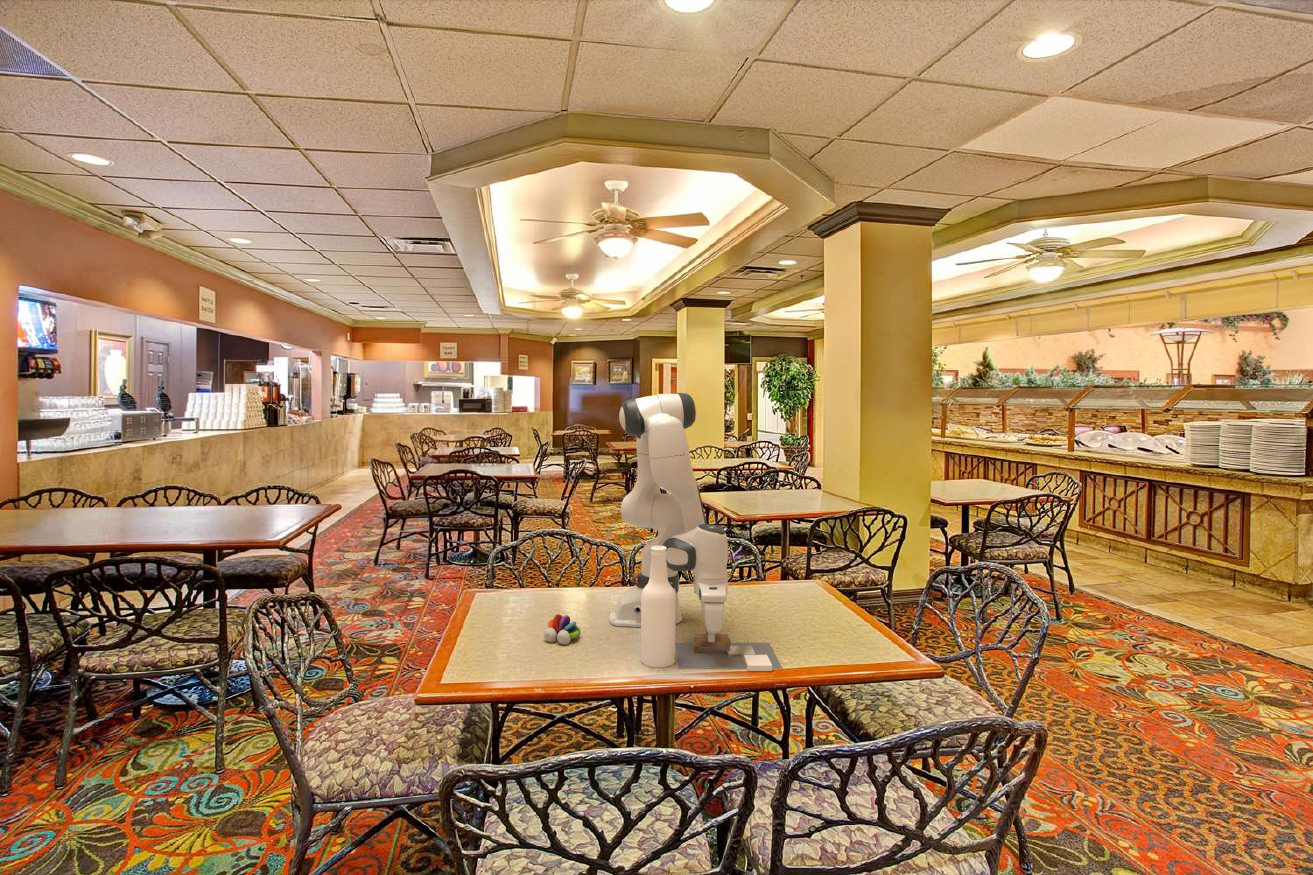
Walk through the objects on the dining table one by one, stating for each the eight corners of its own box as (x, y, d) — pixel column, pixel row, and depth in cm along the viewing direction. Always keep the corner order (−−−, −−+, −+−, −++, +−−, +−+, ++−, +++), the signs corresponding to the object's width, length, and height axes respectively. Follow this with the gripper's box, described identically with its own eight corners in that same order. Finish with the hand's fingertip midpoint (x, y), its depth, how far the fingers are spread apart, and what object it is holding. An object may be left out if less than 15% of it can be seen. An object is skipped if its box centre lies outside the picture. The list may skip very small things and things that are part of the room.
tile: (743, 660, 168) (747, 671, 161) (743, 654, 168) (747, 665, 161) (766, 660, 169) (772, 671, 162) (766, 654, 168) (772, 665, 162)
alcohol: (668, 654, 173) (669, 542, 172) (680, 667, 165) (681, 549, 164) (636, 658, 171) (637, 544, 169) (646, 671, 162) (647, 551, 161)
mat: (678, 670, 163) (678, 668, 163) (675, 644, 181) (675, 642, 181) (782, 670, 163) (782, 668, 163) (769, 644, 181) (769, 642, 181)
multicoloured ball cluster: (557, 632, 190) (557, 608, 190) (585, 638, 186) (585, 613, 186) (539, 642, 183) (539, 616, 182) (568, 648, 178) (568, 621, 178)
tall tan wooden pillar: (694, 656, 171) (695, 639, 171) (693, 647, 177) (693, 631, 177) (755, 656, 171) (755, 639, 171) (751, 647, 177) (751, 631, 177)
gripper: (695, 576, 184) (695, 624, 184) (702, 597, 163) (701, 652, 164) (718, 576, 184) (717, 624, 184) (727, 597, 163) (726, 652, 164)
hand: (710, 637), depth 174 cm, fingers open, 3 cm apart
